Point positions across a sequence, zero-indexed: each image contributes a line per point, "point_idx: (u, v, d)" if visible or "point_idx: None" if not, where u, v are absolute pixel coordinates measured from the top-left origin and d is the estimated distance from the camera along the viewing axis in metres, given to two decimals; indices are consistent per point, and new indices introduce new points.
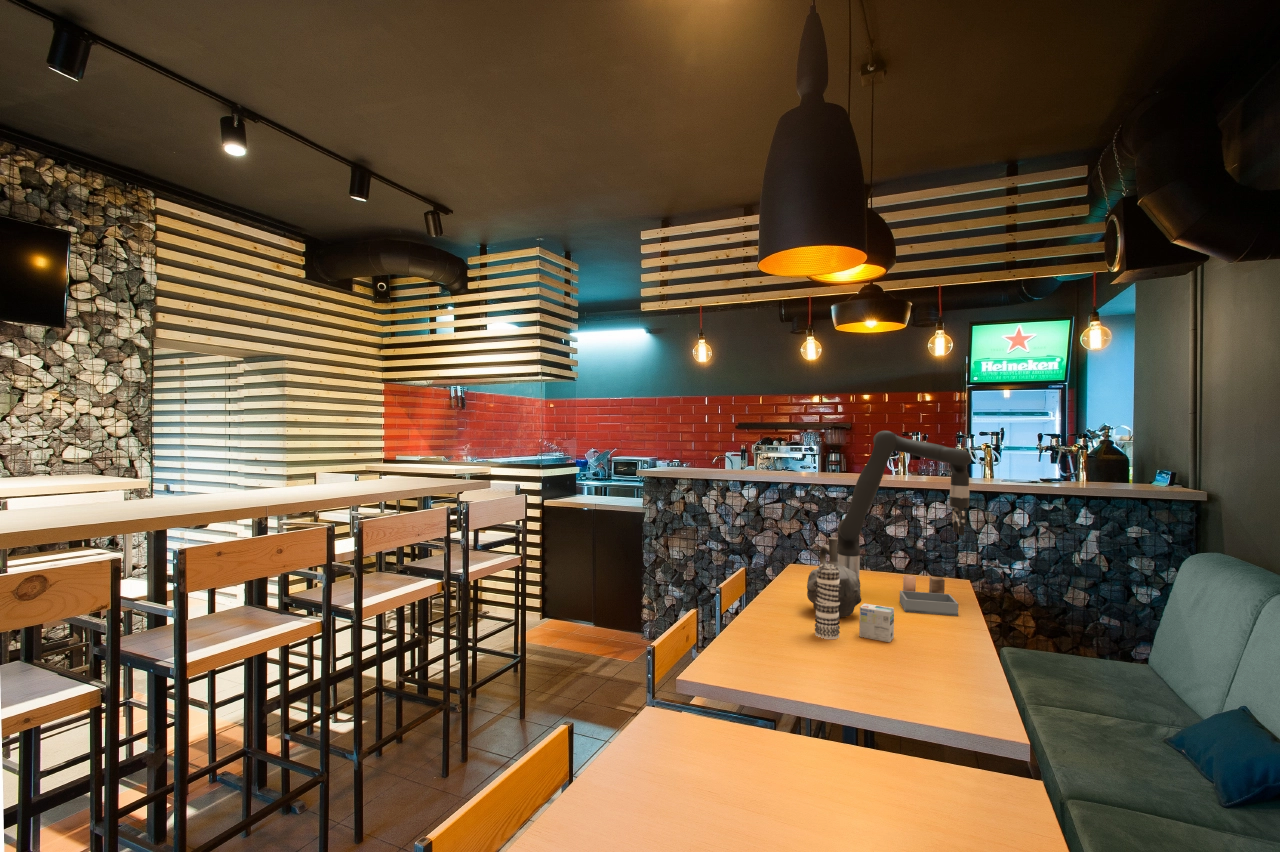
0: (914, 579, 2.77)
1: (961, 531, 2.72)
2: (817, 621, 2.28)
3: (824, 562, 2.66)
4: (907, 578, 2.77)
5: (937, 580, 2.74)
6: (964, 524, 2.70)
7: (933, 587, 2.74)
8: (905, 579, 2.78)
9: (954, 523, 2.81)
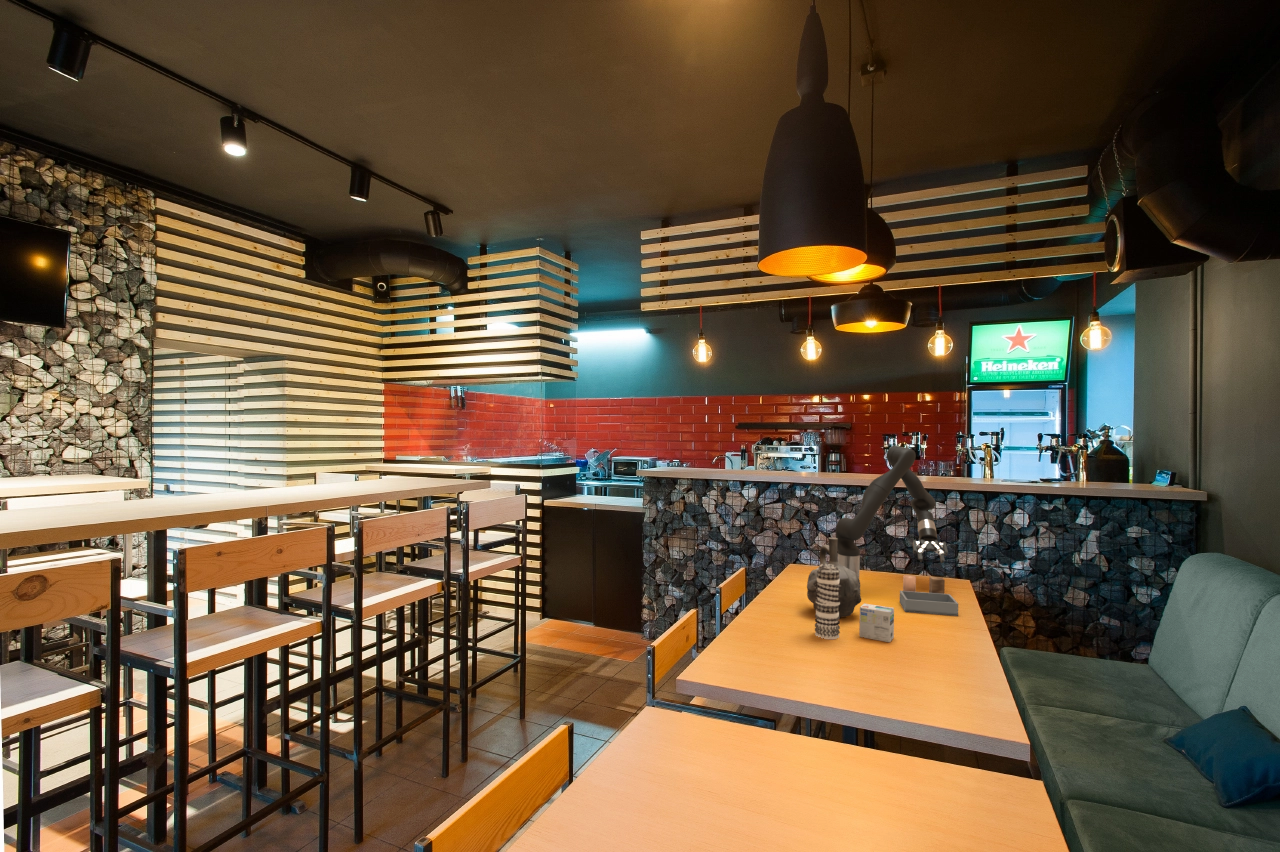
0: (914, 579, 2.77)
1: None
2: (817, 621, 2.28)
3: (824, 562, 2.66)
4: (907, 578, 2.77)
5: (937, 580, 2.74)
6: (946, 553, 2.90)
7: (933, 587, 2.74)
8: (905, 579, 2.78)
9: (921, 553, 2.90)
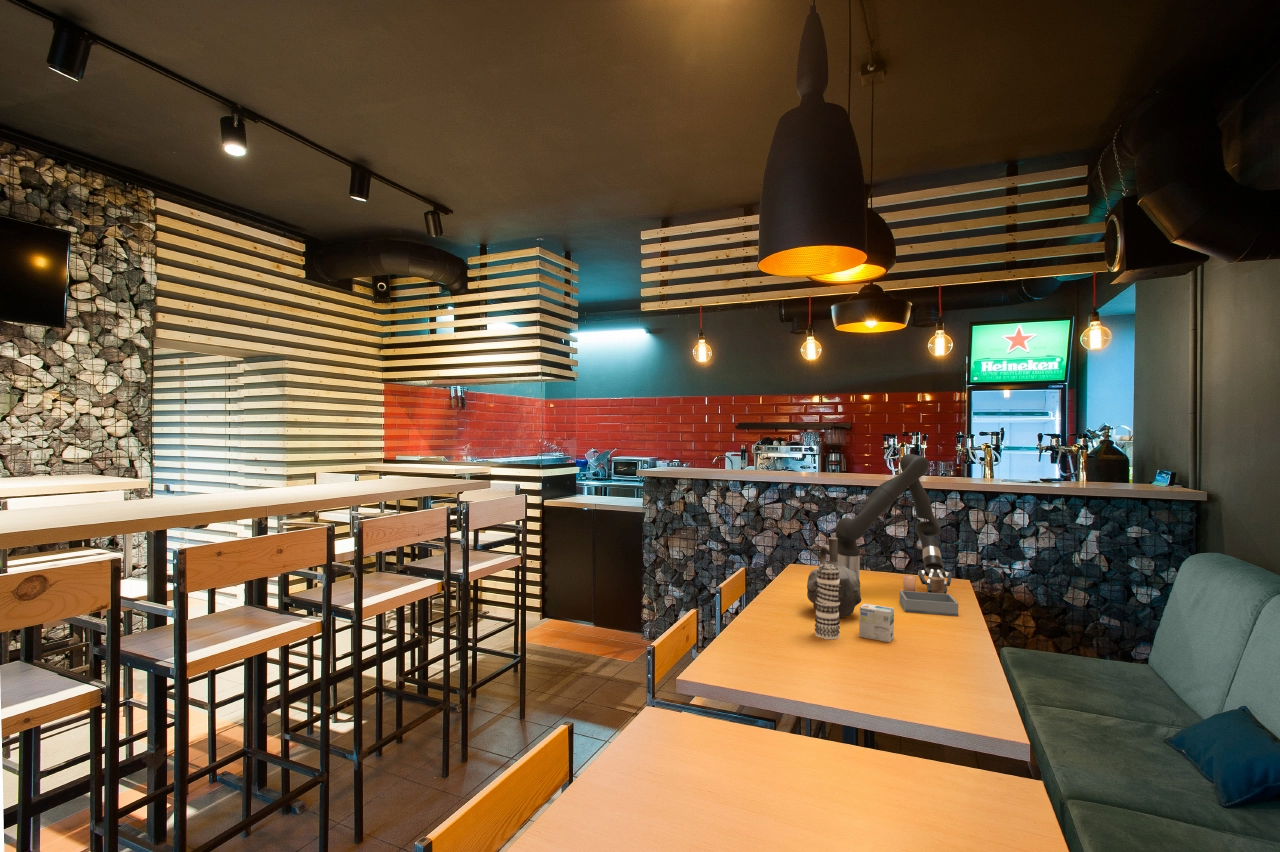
0: (914, 579, 2.77)
1: None
2: (817, 621, 2.28)
3: (824, 562, 2.66)
4: (907, 578, 2.77)
5: (937, 580, 2.74)
6: (949, 584, 2.77)
7: (933, 587, 2.74)
8: (905, 579, 2.78)
9: None
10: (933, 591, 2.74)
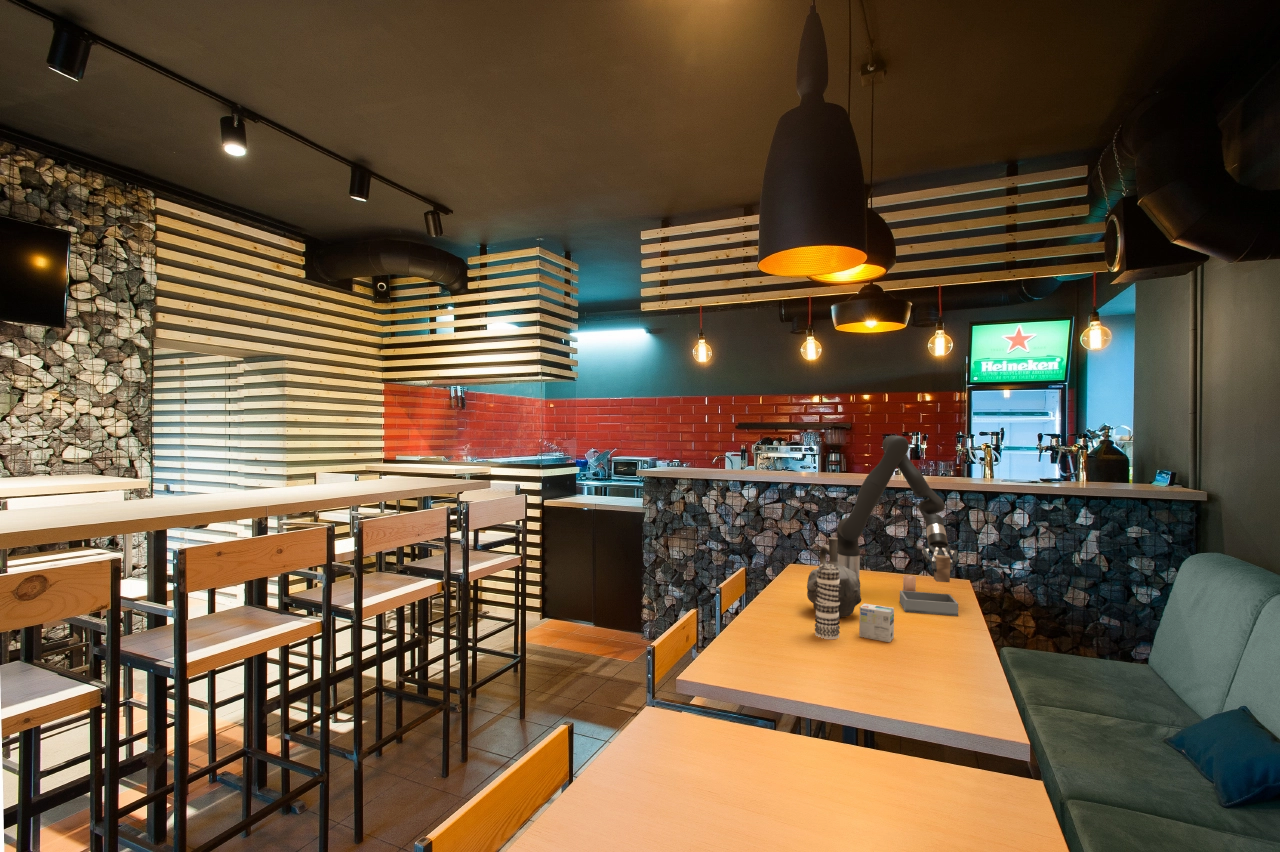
0: (914, 579, 2.77)
1: None
2: (817, 621, 2.28)
3: (824, 562, 2.66)
4: (907, 578, 2.77)
5: (942, 558, 2.63)
6: None
7: (938, 565, 2.63)
8: (905, 579, 2.78)
9: None
10: (938, 569, 2.63)
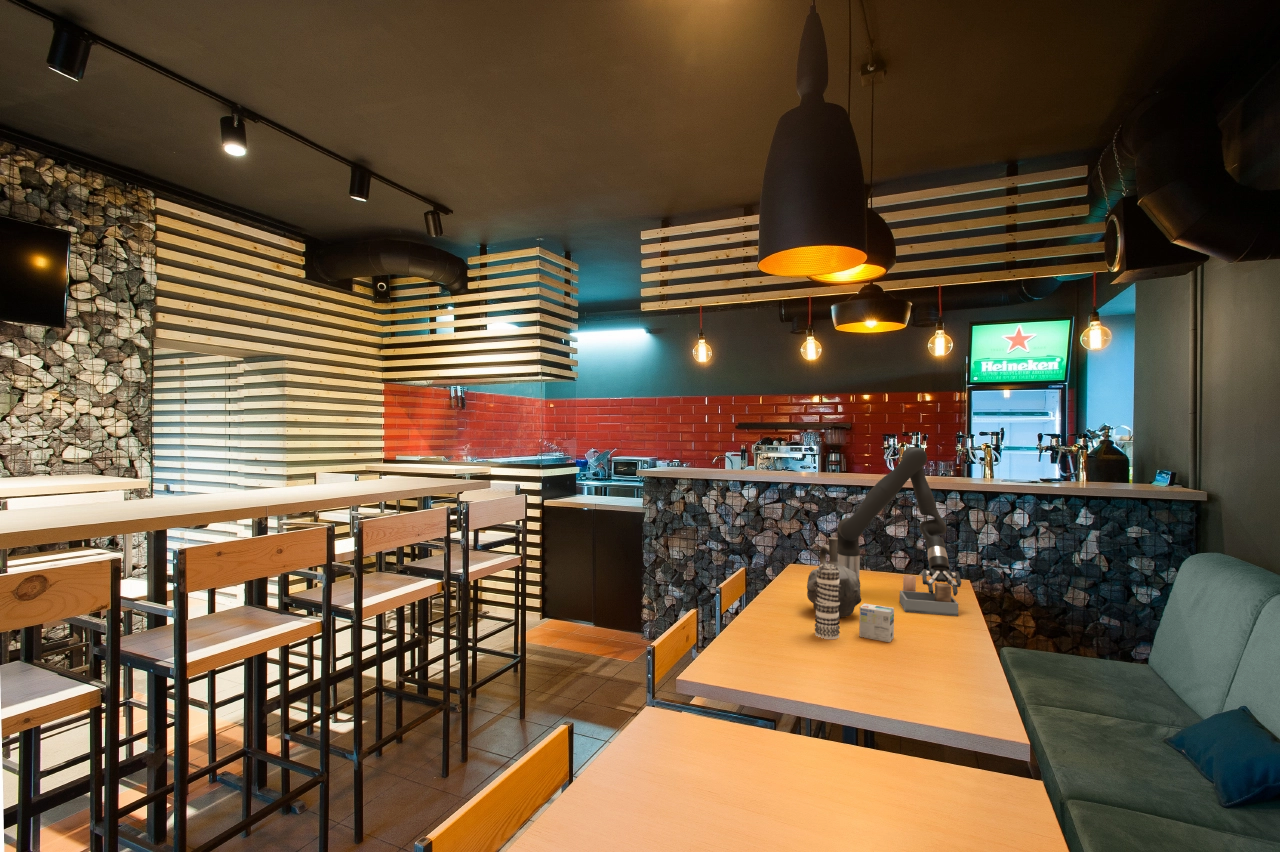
0: (914, 579, 2.77)
1: None
2: (817, 621, 2.28)
3: (824, 562, 2.66)
4: (907, 578, 2.77)
5: (943, 587, 2.58)
6: None
7: (939, 594, 2.59)
8: (905, 579, 2.78)
9: None
10: (939, 599, 2.59)
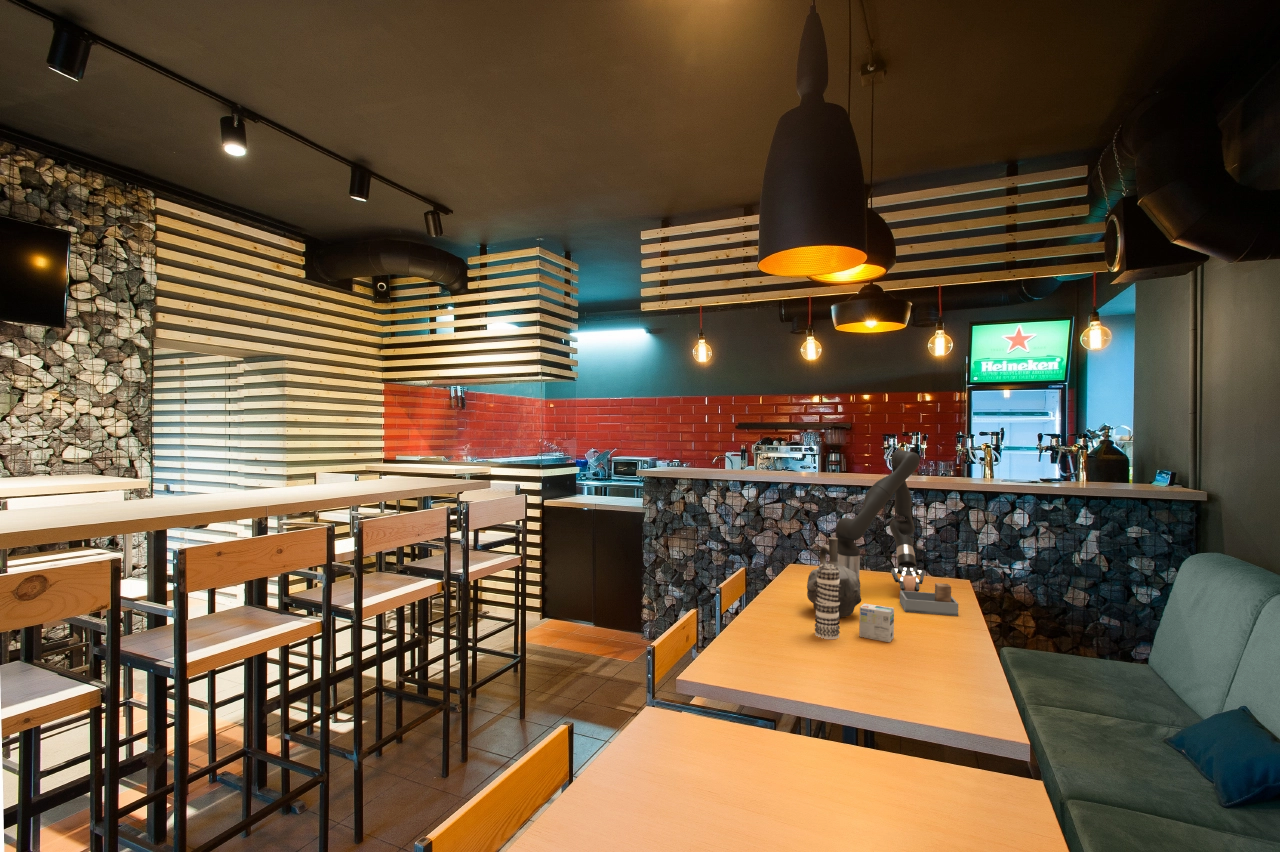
0: (914, 579, 2.77)
1: None
2: (817, 621, 2.28)
3: (824, 562, 2.66)
4: (907, 578, 2.77)
5: (943, 587, 2.58)
6: (922, 582, 2.80)
7: (939, 594, 2.59)
8: (905, 579, 2.78)
9: (902, 582, 2.80)
10: (939, 599, 2.59)
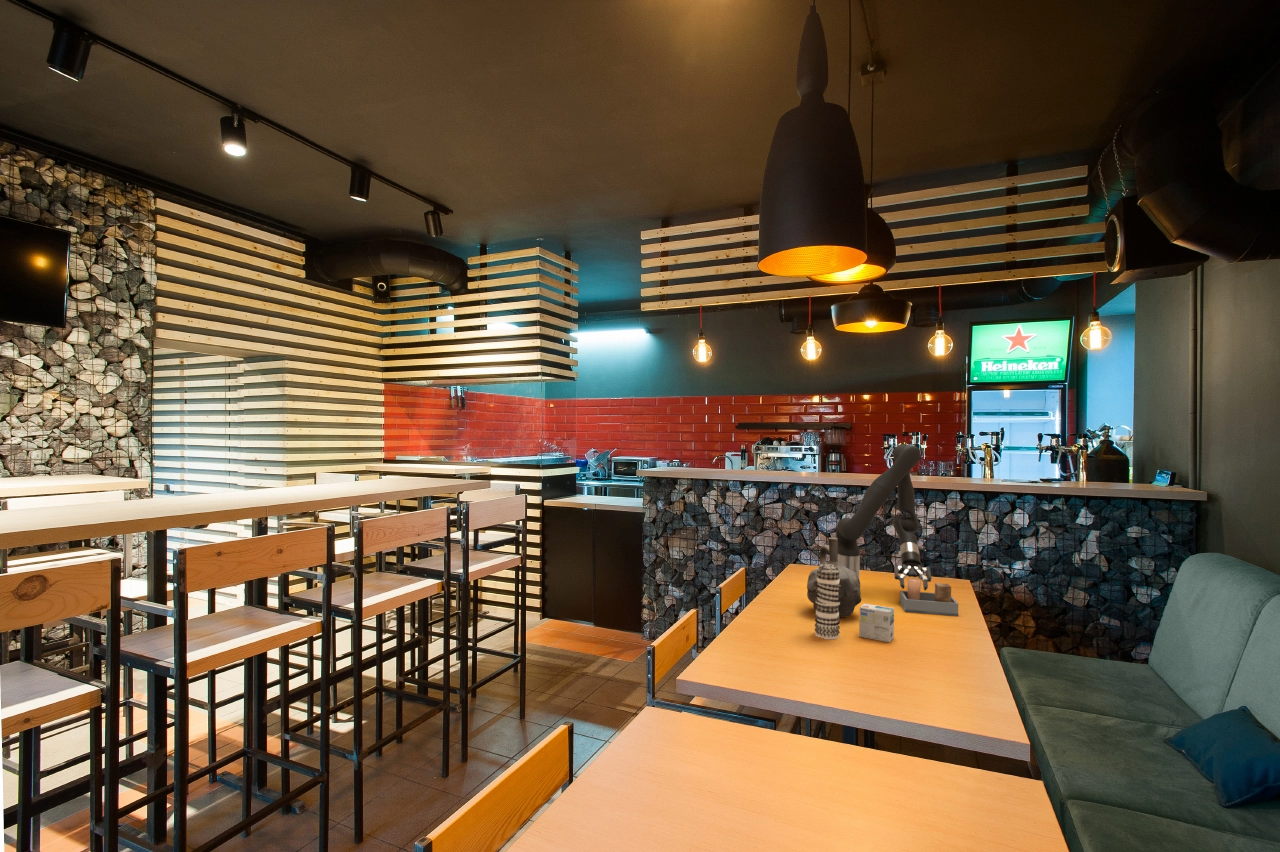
0: (919, 582, 2.67)
1: None
2: (817, 621, 2.28)
3: (824, 562, 2.66)
4: (912, 581, 2.67)
5: (943, 587, 2.58)
6: (930, 579, 2.70)
7: (939, 594, 2.59)
8: (909, 582, 2.68)
9: (903, 578, 2.70)
10: (939, 599, 2.59)
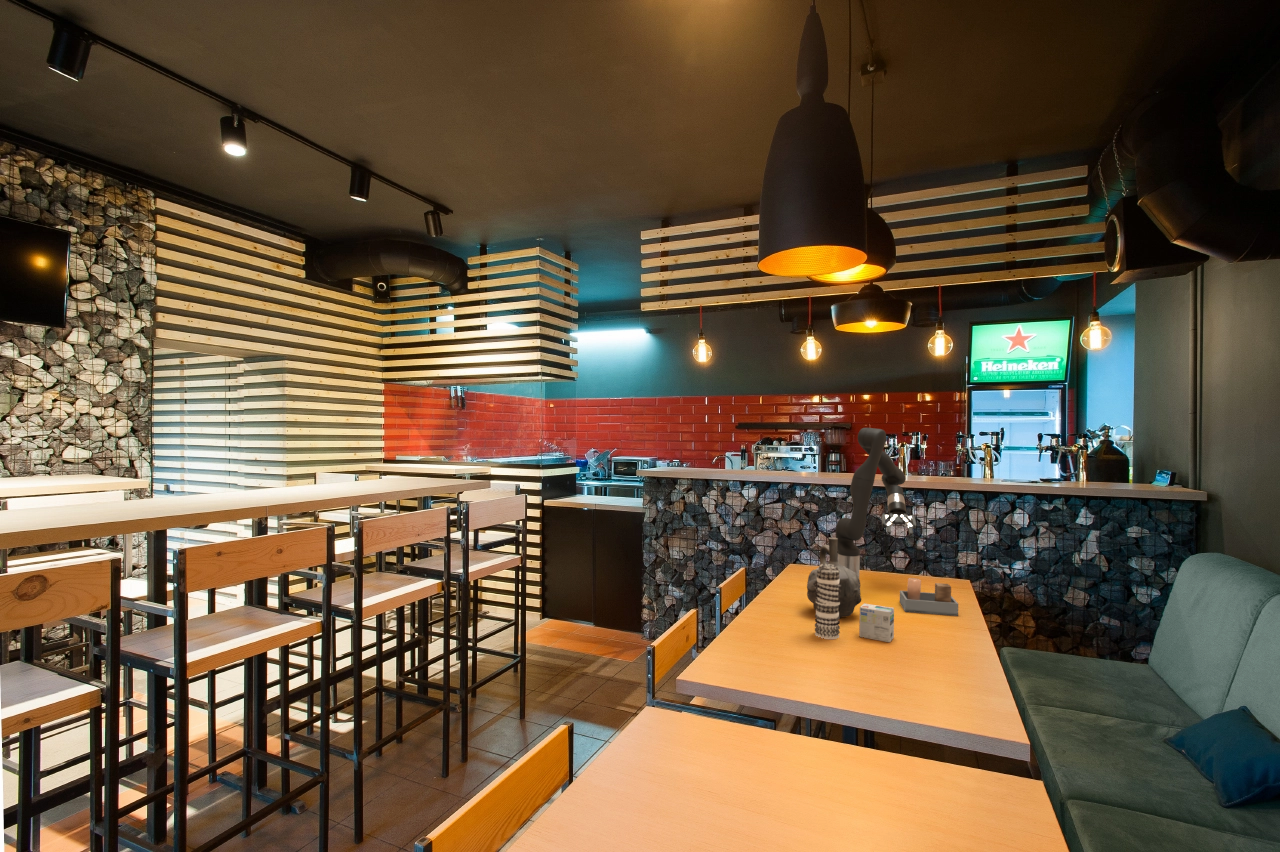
0: (919, 583, 2.67)
1: None
2: (817, 621, 2.28)
3: (824, 562, 2.66)
4: (912, 581, 2.67)
5: (943, 587, 2.58)
6: None
7: (939, 594, 2.59)
8: (910, 582, 2.67)
9: (889, 526, 2.90)
10: (939, 599, 2.59)
